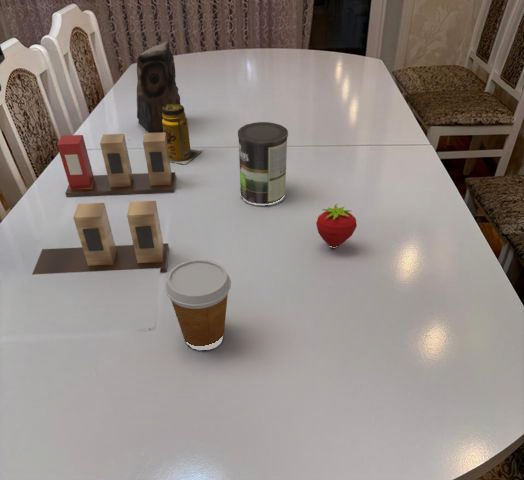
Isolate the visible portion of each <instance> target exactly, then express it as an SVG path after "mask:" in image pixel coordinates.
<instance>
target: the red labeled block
mask: <svg viewBox="0 0 524 480" xmlns="http://www.w3.org/2000/svg"><path fill="white" fill-rule="evenodd" d="M56 146H57V149H58V153H59V157H60V159H61V162H62V166H63V169H64V172H65V176H66V179H67V183H68V185H69V186H70V189H72V188H91V186H92V183H93V180H94V176H93V175H94V172H93V169H92V164H91V160H90V157H89V153H88V148H87V146H86V141H85V137H84V135H83V134H67V135H61V136H60V138H59V140H58V142H57V143H56Z"/></svg>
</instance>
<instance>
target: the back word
mask: <svg viewBox="0 0 524 480" xmlns="http://www.w3.org/2000/svg"><path fill="white" fill-rule="evenodd" d="M125 135H126V134H125V133H111V134H102V137H101V139H100V142H99V145H100V150H101V154H102V158H103V161H104V162H103V163H104V165H105V171H106V174H98V175H97V174H95V175H94V174H93V176H94V180H93V183H92V186H91V188H72V189H70V186H69V184H68V185H67V188H66V191H65V197H66V198H74V197H75V198H76V197H97V196H98V197H99V196H100V197H101V196H121V195H124V196H125V195H144V194H145V195H146V194H147V195H149V194H172V193H175V187H176V177H177V176H176V175H177V174H176V171H172V166H171V162H170V159H169V152H168V145H167V138H166V132H162V133H149V132H144V134H143V140H142V145H143V150H144V158H145V162H146V168H147V172H146V173H145V172H144V173H133V171H132V166H131V161H130V156H129V155H130V154H129V150H128V146H127V141H126V136H125Z"/></svg>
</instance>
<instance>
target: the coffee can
mask: <svg viewBox="0 0 524 480" xmlns="http://www.w3.org/2000/svg"><path fill="white" fill-rule="evenodd" d="M288 137H289V130H288V129H287V128H286V127H285V126H284V125H281V124H279V123H275V122H269V121H257V122H251V123H248V124H247V123H246V124H245V125H242V126H241V127H240V128H238V130H237V138H238V155H239V156H238V159H239V160H238V161H239V185H240V186H239V187H240V190H239V191H240V193H241V196H242V197H243V198H244V199H245V200H246V201H248V202H251V203H256V204H269V203H273V202H276V201H278V200H280V199H281V198H282V197H283V196H284V195H285V194H286V183H287V153H288ZM241 196H240V199H241V200H242V198H241ZM284 200H285V198H284V199H283V200H282V201H281V202H279V203H277V204H273V205H268V206H267V207H271V206H275V205H278V204H280V203H283V201H284ZM242 201H243V202H244V203H245V204H248V205H251V206H254V207H258V206H257V205H252V204H249V203H247V202H245V201H244V200H242Z"/></svg>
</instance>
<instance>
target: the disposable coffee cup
mask: <svg viewBox="0 0 524 480" xmlns="http://www.w3.org/2000/svg"><path fill="white" fill-rule="evenodd" d="M231 287H232V281H231V277H230V276H229V274H228V272H227V271H226V268H225V267H223V266H222V265H221V264H220V263H218V262H215V261H213V260H208V259H191V260H186V261H184V262H180V263H178V264H177V265H175V266H174V267H172V269H171V270H169V272H168V273H167V276H166V280H165V282H164V291H165V294H166V296H167V297H168V298H169V299H170V301H171V305H172V307H173V311H174V313H175V316H176V319H177V322H178V325H179V328H180V330H181V334H182V337H183V339H185V340H184V342H185V341H186V342H188V343H189V344H191V345H194V346H205V345H209V344H212V343H215V342H216V341H218V340H219V339H220V338H221V337H222V336H223V334H224V335H225V329H226V328H225V327H226V320H227V319H226V316H227V305H228V297H229V295H228V294H229V293H230V289H231Z"/></svg>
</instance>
